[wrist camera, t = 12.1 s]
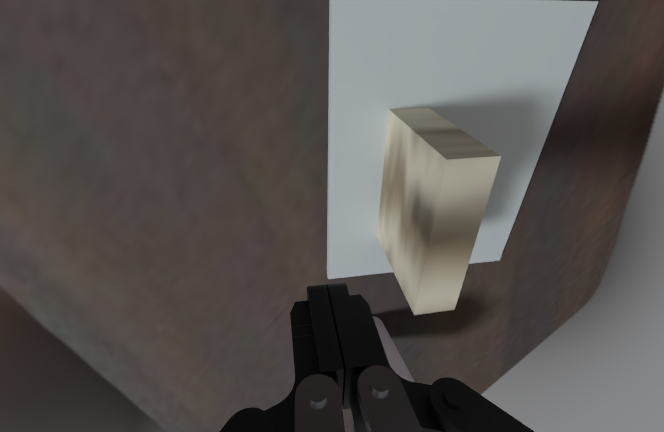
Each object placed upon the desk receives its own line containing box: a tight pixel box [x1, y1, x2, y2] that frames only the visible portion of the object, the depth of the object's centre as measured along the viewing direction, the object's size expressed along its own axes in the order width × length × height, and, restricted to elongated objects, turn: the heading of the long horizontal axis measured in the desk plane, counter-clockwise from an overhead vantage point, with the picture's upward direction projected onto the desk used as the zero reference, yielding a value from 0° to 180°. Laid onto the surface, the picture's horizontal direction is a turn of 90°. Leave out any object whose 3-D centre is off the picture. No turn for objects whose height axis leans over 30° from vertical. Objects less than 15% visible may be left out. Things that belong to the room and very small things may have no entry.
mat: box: [327, 0, 599, 279], centre depth 24 cm, size 20×16×1 cm
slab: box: [377, 108, 501, 315], centre depth 20 cm, size 10×3×8 cm, turn 0°
